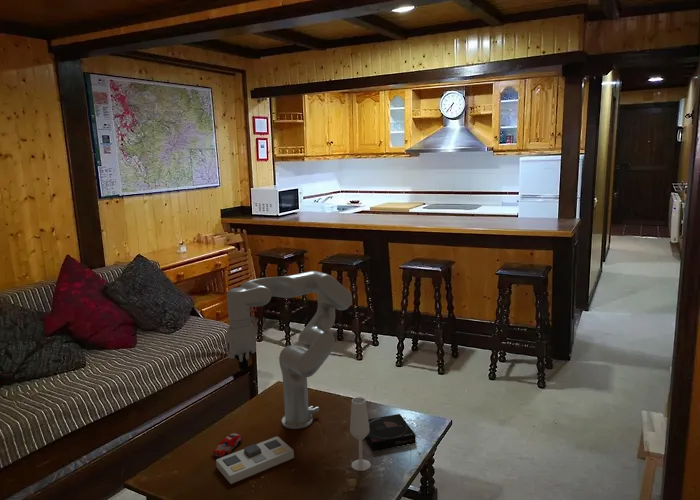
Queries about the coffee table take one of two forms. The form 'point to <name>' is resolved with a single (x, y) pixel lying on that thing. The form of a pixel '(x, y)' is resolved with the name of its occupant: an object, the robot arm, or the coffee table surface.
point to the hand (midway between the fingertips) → (243, 370)
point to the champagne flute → (359, 429)
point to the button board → (255, 461)
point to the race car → (227, 445)
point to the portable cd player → (389, 432)
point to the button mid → (252, 450)
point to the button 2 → (272, 444)
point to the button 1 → (231, 460)
